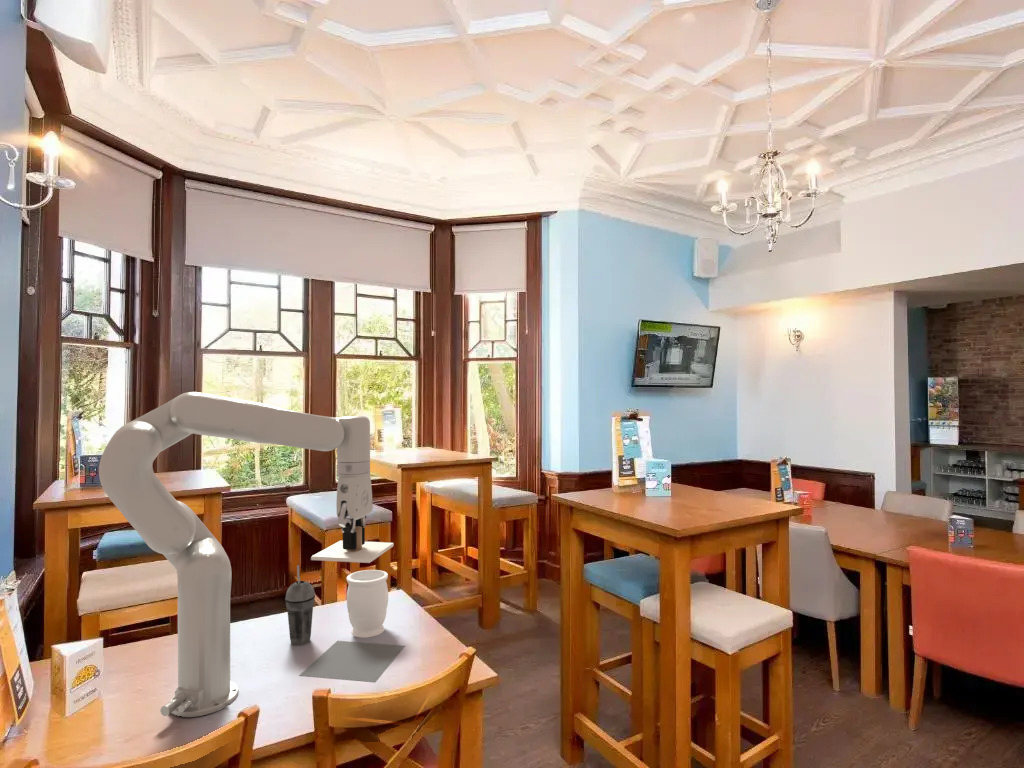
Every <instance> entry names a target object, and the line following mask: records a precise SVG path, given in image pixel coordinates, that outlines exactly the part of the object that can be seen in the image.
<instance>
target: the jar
mask: <svg viewBox="0 0 1024 768" xmlns="http://www.w3.org/2000/svg"><path fill="white" fill-rule="evenodd" d="M388 578H389V575H388V572H386V571H385V570H379V569H365V570H358V571H354V572H352V573H350V574H348V575H347V576H346V582H347V583H348V586H347V593H346V608H347V613H348V619H349V624H350V625H351V627H352V629H351V632H350V634H351V635H352V636H353V637H357V638H370V637H371V638H372V637H375V636H378V635H382V633H384V631H385V626H384V623H385V620H386V617H387V608H388V604H389V588H388V583H387V580H388Z"/></svg>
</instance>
